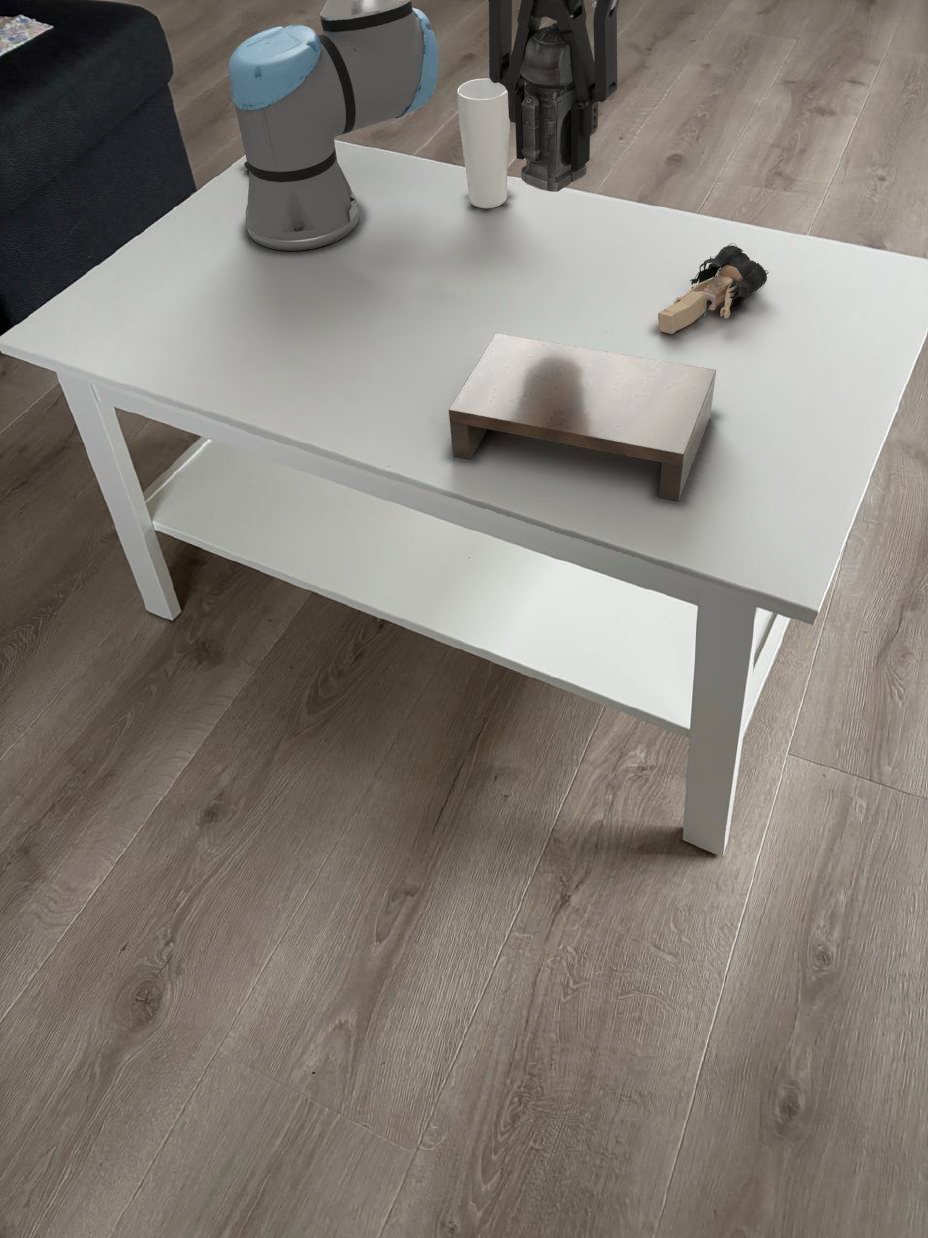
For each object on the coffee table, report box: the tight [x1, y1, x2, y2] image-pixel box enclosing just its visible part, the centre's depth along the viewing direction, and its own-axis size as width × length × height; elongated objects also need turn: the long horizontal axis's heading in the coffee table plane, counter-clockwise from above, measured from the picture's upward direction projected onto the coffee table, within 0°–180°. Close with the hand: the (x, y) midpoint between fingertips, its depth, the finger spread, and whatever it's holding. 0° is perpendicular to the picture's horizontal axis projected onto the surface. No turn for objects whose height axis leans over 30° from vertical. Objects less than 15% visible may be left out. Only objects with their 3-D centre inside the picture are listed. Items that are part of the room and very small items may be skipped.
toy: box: [520, 22, 588, 193], centre depth 109 cm, size 8×6×15 cm
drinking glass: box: [456, 77, 511, 209], centre depth 144 cm, size 7×7×15 cm
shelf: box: [448, 332, 717, 502], centre depth 112 cm, size 24×14×6 cm, turn 69°
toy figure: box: [657, 242, 770, 335], centre depth 127 cm, size 7×6×15 cm
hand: (552, 158), depth 113 cm, fingers closed on toy, 6 cm apart
